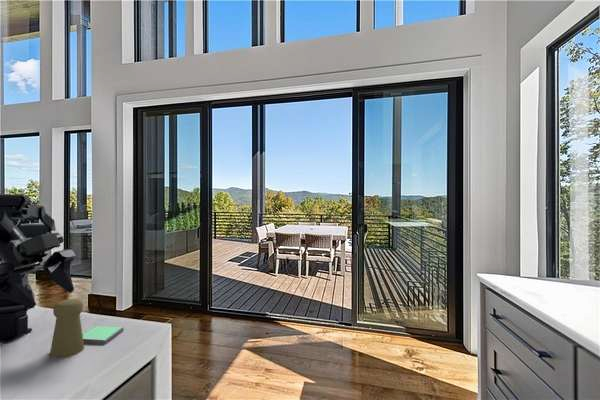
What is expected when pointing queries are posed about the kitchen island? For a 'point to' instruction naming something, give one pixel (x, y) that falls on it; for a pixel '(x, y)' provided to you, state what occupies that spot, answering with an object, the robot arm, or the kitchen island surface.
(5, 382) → the kitchen island surface
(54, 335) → the cork
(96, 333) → the plate
